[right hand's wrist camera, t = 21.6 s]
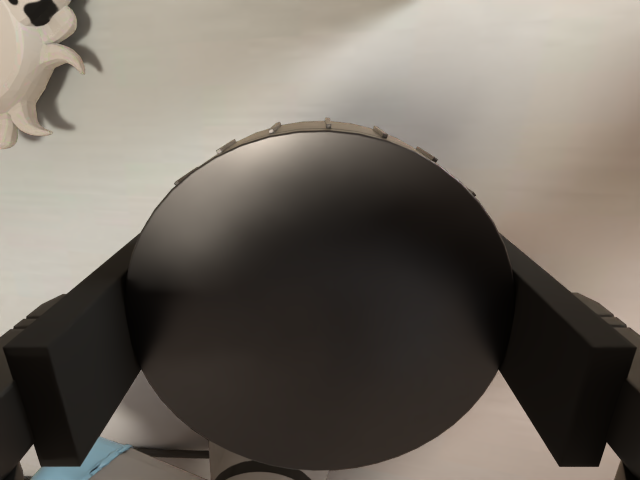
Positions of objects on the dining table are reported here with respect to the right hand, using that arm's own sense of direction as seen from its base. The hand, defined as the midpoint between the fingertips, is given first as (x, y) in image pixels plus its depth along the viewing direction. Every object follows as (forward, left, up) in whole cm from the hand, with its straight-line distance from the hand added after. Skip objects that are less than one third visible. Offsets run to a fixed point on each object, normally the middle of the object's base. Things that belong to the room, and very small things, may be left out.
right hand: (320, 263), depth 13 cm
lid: (0, 0, +3) cm, 3 cm away
